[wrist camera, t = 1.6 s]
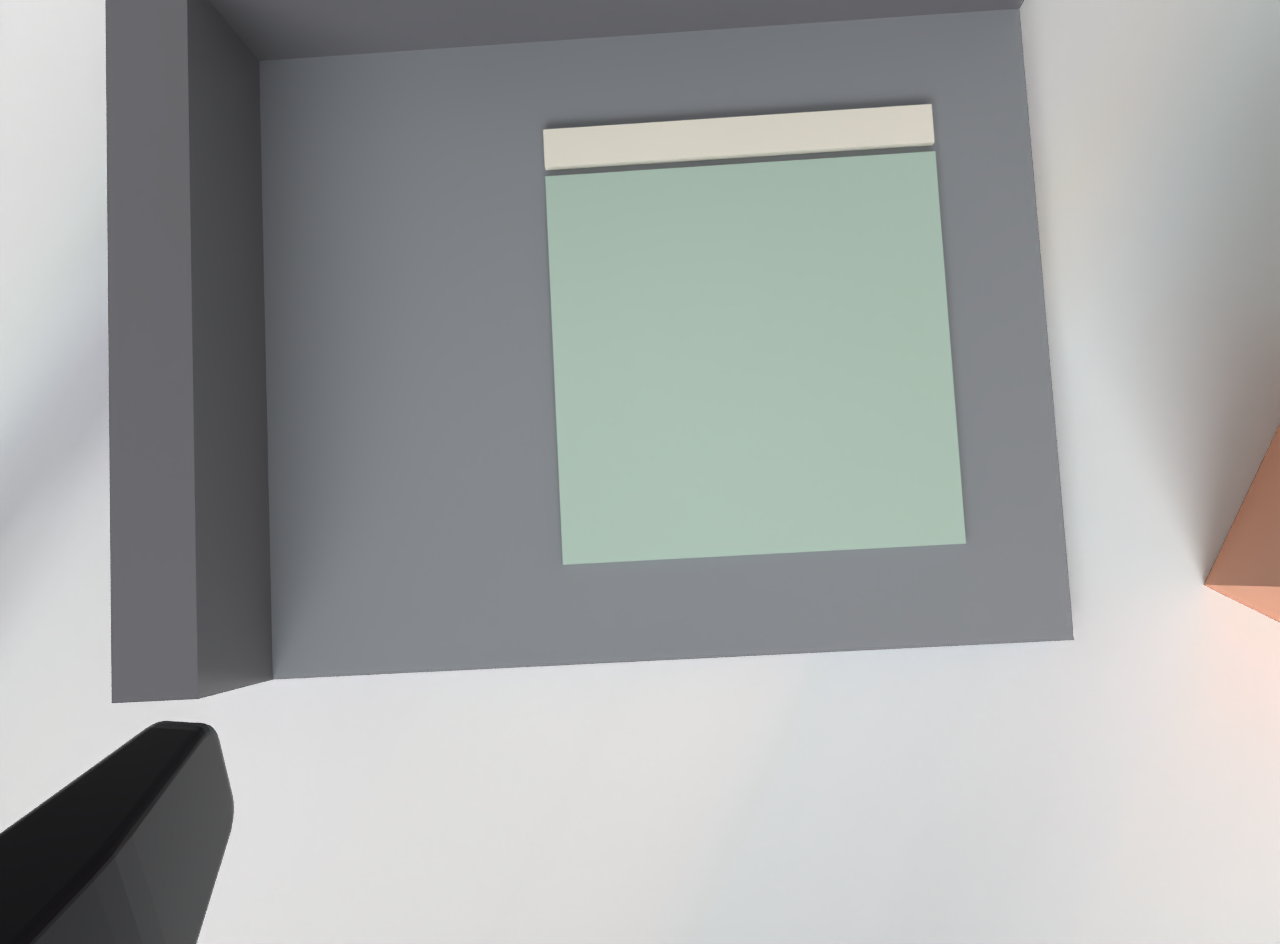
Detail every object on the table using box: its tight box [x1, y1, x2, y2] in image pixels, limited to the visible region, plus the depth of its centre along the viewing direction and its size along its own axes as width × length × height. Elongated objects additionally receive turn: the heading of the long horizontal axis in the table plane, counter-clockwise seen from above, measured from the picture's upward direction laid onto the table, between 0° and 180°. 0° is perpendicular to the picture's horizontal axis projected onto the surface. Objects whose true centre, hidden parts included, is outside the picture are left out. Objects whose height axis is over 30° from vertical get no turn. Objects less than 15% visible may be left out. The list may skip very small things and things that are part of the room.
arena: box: [106, 0, 1074, 703], centre depth 22 cm, size 14×18×4 cm
